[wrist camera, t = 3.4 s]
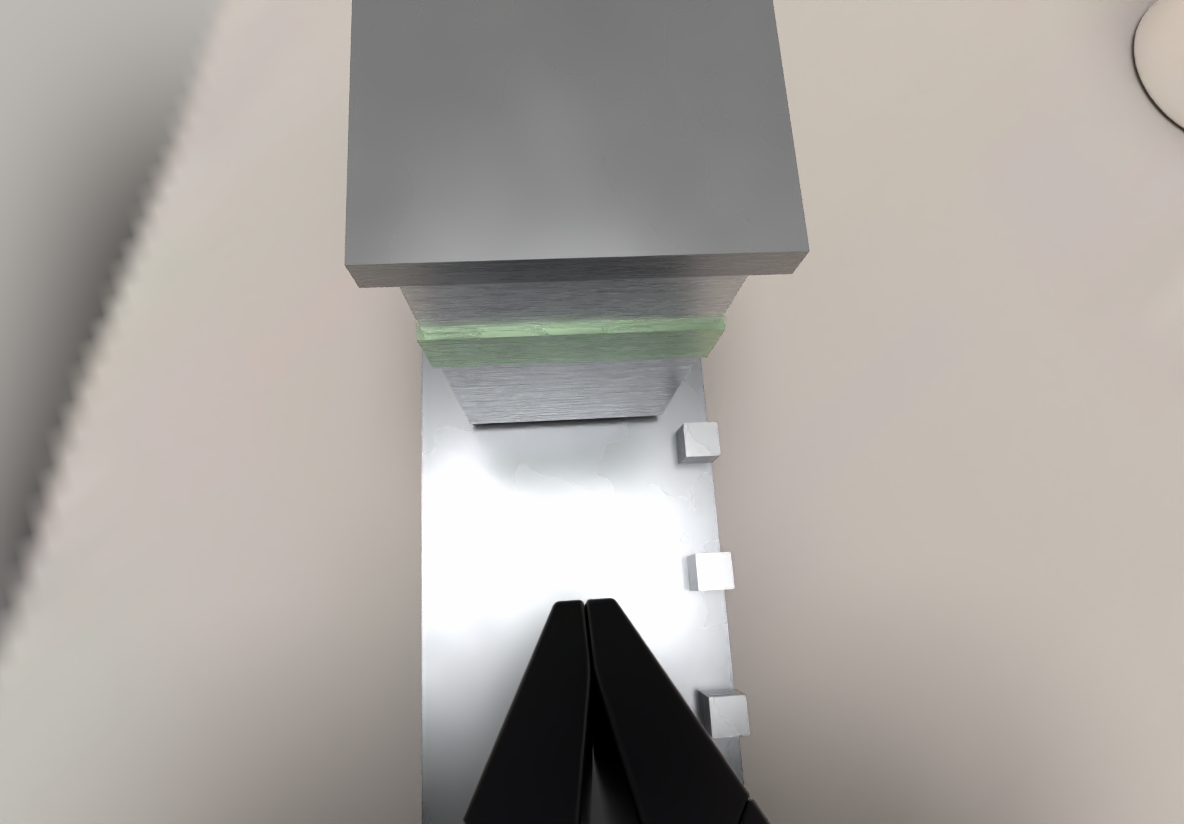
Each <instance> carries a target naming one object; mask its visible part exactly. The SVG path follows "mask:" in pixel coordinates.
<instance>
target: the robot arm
mask: <svg viewBox="0 0 1184 824" xmlns="http://www.w3.org/2000/svg"><path fill="white" fill-rule="evenodd" d="M593 755H594V764H595V771H596V777H597V783H598V788H599V793H600V798H601V803H602V809H603V814H604V819H605V824H770V822H769V821H768V819H767V818H766V817H765V815H764V814H763V812H762V811H761V809H760V808H759V806H758V805H757V803H756V802H755V801H754V800H753V799H750V794H749V792H748V791H747V789H746V788H745V787H744V785H743V784H742V782H741V781H740V779H739V778H738V776H737V775H736V773H735V772H734V771H733V769H732V768H731V766H730V765H729V763H728V762H727V760H726V759H725V758H724V756H723V755H722V753H721V752H720V750H719V749H718V747H717V746H716V744H715V743H714V742H713V740H712V739H711V737H710V736H709V734H708V733H707V731H706V730H705V729H704V727H703V726H702V724H701V723H700V721H699V720H698V718H697V717H696V715H695V714H694V713H693V711H692V710H691V708H690V707H689V705H688V704H687V702H686V701H685V700H684V698H683V697H682V695H681V694H680V692H679V691H678V689H677V688H676V686H675V685H674V684H673V682H672V681H671V679H670V678H669V676H668V675H667V673H666V672H665V670H664V669H663V668H662V666H661V665H660V663H659V662H658V660H657V659H656V657H655V656H654V655H653V653H652V652H651V650H650V649H649V647H648V646H647V644H646V643H645V641H644V640H643V639H642V637H641V636H640V634H639V633H638V631H637V630H636V628H635V627H634V626H633V624H632V623H631V621H630V620H629V618H628V617H627V615H626V614H625V612H624V611H623V610H622V608H621V607H620V605H619V604H618V602H617V601H616V600H615V599H613V598H599V599H588V600H587V601H586V603H585V605H584V602H583V601H581V600H568V601H557V602H556V603H554V605H553V606H552V609H551V611H550V613H549V616H548V618H547V620H546V623H545V625H544V627H543V630H542V632H541V634H540V637H539V639H538V642H537V644H536V646H535V649H534V651H533V653H532V656H531V658H530V660H529V663H528V665H527V667H526V670H525V672H524V674H523V677H522V679H521V682H520V684H519V686H518V689H517V691H516V693H515V696H514V698H513V700H512V703H511V705H510V707H509V710H508V712H507V715H506V717H505V719H504V722H503V724H502V726H501V729H500V731H499V733H498V736H497V738H496V740H495V743H494V745H493V747H492V750H491V752H490V755H489V757H488V759H487V762H486V764H485V766H484V769H483V771H482V773H481V776H480V778H479V780H478V783H477V785H476V788H475V790H474V792H473V795H472V797H471V799H470V802H469V804H468V806H467V809H466V811H465V813H464V816H463V818H462V822H463V824H591V808H592V785H593ZM749 799H750V800H749Z"/></svg>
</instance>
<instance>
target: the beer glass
mask: <svg viewBox="0 0 1184 824" xmlns="http://www.w3.org/2000/svg"><path fill="white" fill-rule="evenodd" d="M1134 58H1135V64H1136V68H1137V71H1138V74H1139V77H1140V79H1141V82H1142V84H1143V86H1144V88H1145V89H1146V91H1147V93H1148V94H1149V96H1150V97H1151V99H1152V100H1153V101H1154V102H1155V104H1156V105H1157V106H1158V107H1159V108H1160V109H1161V110H1162V111H1163V112H1164V113H1165V114H1166V115H1167V116H1168V117H1169V118H1170V119H1171V120H1172V121H1174V122H1175V123H1176V124H1178V125H1179V126H1180V127H1182V128H1183V129H1184V0H1157V1H1156V2H1155V3H1154V4H1153V5H1152V6H1151V7H1150V8H1149V9H1148V10H1147V12H1146V13H1145V14H1144V16H1143V17H1142V19H1141V20H1140V22H1139V24H1138V27H1137V30H1136V33H1135V38H1134Z"/></svg>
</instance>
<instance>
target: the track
mask: <svg viewBox="0 0 1184 824" xmlns="http://www.w3.org/2000/svg"><path fill="white" fill-rule="evenodd" d="M719 456H720V445H719V436H718V426H717V422H707V417H706V407H705V397H704V388H703V378H702V368H701V358H700V357H697V359H696V360H695V362H694V363H693V365H692V367H691V368H690V370H689V372H688V373H687V375H686V376H685V378H684V380H683V381H682V383H681V384H680V386H679V388H678V389H677V391H676V393H675V394H674V396H673V397H672V399H671V401H670V402H669V404H668V405H667V407H666V409H665V410H664V412H663V414H662V415H661V416H639V417H617V418H595V419H573V420H551V421H529V422H507V423H485V424H470V423H469V422H468V420H467V418H466V416H465V414H464V412H463V410H462V408H461V406H460V404H459V402H458V400H457V398H456V396H455V394H454V392H453V390H452V388H451V386H450V384H449V382H448V381H447V379H446V377H445V375H444V373H443V371H442V369H441V368H432V366H431V365H430V363H429V361H428V359H427V357H426V356H425V354H424V352H423V350H422V824H463V822H462V818H463V816H464V813H465V811H466V809H467V806H468V804H469V802H470V799H471V797H472V795H473V792H474V790H475V788H476V785H477V783H478V780H479V778H480V776H481V773H482V771H483V769H484V766H485V764H486V762H487V759H488V757H489V755H490V752H491V750H492V747H493V745H494V743H495V740H496V738H497V736H498V733H499V731H500V729H501V726H502V724H503V722H504V719H505V717H506V715H507V712H508V710H509V707H510V705H511V703H512V700H513V698H514V696H515V693H516V691H517V689H518V686H519V684H520V682H521V679H522V677H523V674H524V672H525V670H526V667H527V665H528V663H529V660H530V658H531V656H532V653H533V651H534V649H535V646H536V644H537V642H538V639H539V637H540V634H541V632H542V630H543V627H544V625H545V623H546V620H547V618H548V616H549V613H550V611H551V609H552V606H553V605H554V603H556V602H557V601H568V600H581V601H583V602H584V605H585V603H586V601H587V600H588V599H599V598H613V599H615V600H616V601H617V602H618V604H619V605H620V607H621V608H622V610H623V611H624V612H625V614H626V615H627V617H628V618H629V620H630V621H631V623H632V624H633V626H634V627H635V628H636V630H637V631H638V633H639V634H640V636H641V637H642V639H643V640H644V641H645V643H646V644H647V646H648V647H649V649H650V650H651V652H652V653H653V655H654V656H655V657H656V659H657V660H658V662H659V663H660V665H661V666H662V668H663V669H664V670H665V672H666V673H667V675H668V676H669V678H670V679H671V681H672V682H673V684H674V685H675V686H676V688H677V689H678V691H679V692H680V694H681V695H682V697H683V698H684V700H685V701H686V702H687V704H688V705H689V707H690V708H691V710H692V711H693V713H694V714H695V715H696V717H697V718H698V720H699V721H700V723H701V724H702V726H703V727H704V729H705V730H706V731H707V733H708V734H709V736H710V737H711V739H712V740H713V742H714V743H715V744H716V746H717V747H718V749H719V750H720V752H721V753H722V755H723V756H724V758H725V759H726V760H727V762H728V763H729V765H730V766H731V768H732V769H733V771H734V772H735V773H736V775H737V776H738V778H739V779H740V781H741V782H742V784H743V785H744V781H743V771H742V761H741V751H740V741H739V736H749V735H750V730H749V720H748V711H747V701H746V695H745V694H743V693H741V692H740V691H738V690H736V689H734V682H733V673H732V663H731V653H730V643H729V633H728V623H727V614H726V604H725V594H724V589H735V588H734V578H733V569H732V559H731V552H720V545H719V535H718V525H717V515H716V505H715V496H714V486H713V476H712V466H711V462H713V461H714V460H715V459H716V458H718V457H719ZM591 824H605V819H604V814H603V809H602V803H601V798H600V793H599V788H598V783H597V777H596V771H595V764H594V755H593V785H592V808H591Z"/></svg>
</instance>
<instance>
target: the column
mask: <svg viewBox="0 0 1184 824" xmlns="http://www.w3.org/2000/svg"><path fill="white" fill-rule="evenodd" d="M808 252H809V244H808V237H807V231H806V224H805V217H804V210H803V203H802V197H801V190H800V183H799V176H798V169H797V163H796V156H795V149H794V142H793V135H792V129H791V122H790V115H789V108H788V101H787V95H786V88H785V81H784V74H783V67H782V61H781V54H780V47H779V40H778V33H777V27H776V20H775V13H774V6H773V0H352V24H351V59H350V94H349V130H348V165H347V200H346V236H345V266H346V268H347V269H348V271H349V272H350V274H351V276H352V277H353V279H354V280H355V282H356V283H357V285H358V286H359V288H371V287H400V289H401V291H402V293H403V295H404V296H405V298H406V300H407V302H408V304H409V306H410V308H411V310H412V312H413V314H414V316H415V318H416V320H417V341H418V343H419V345H420V347H421V348H422V350H423V352H424V354H425V356H426V357H427V359H428V361H429V363H430V365H431V366H432V368H441V369H442V371H443V373H444V375H445V377H446V379H447V381H448V382H449V384H450V386H451V388H452V390H453V392H454V394H455V396H456V398H457V400H458V402H459V404H460V406H461V408H462V410H463V412H464V414H465V416H466V418H467V420H468V422H469V423H470V424H485V423H507V422H529V421H551V420H573V419H595V418H617V417H639V416H661V415H662V414H663V412H664V410H665V409H666V407H667V405H668V404H669V402H670V401H671V399H672V397H673V396H674V394H675V393H676V391H677V389H678V388H679V386H680V384H681V383H682V381H683V380H684V378H685V376H686V375H687V373H688V372H689V370H690V368H691V367H692V365H693V363H694V362H695V360H696V359H697V357H707V356H708V354H709V353H710V351H711V350H712V348H713V347H714V345H715V344H716V342H717V341H718V339H719V338H720V336H721V335H722V333H723V332H724V330H725V320H724V313H725V312H726V310H727V309H728V307H729V305H730V304H731V302H732V300H733V299H734V297H735V296H736V294H737V292H738V291H739V289H740V288H741V286H742V284H743V283H744V281H745V280H746V278H747V276H748V275H771V274H792V273H793V272H794V271H795V269H796V268H797V267H798V265H799V264H800V263H801V261H802V260H803V259H804V258H805V256H806V255H807V254H808Z"/></svg>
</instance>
